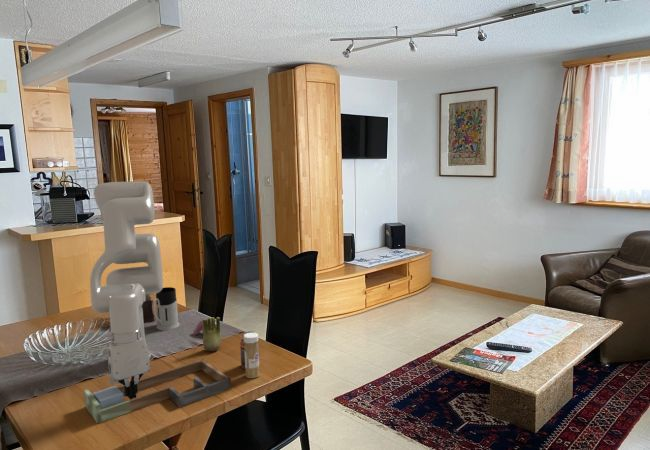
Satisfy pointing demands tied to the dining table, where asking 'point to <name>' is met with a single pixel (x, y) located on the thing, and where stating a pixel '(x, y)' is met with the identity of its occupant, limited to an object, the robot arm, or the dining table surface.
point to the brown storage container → (148, 309)
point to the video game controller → (201, 327)
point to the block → (109, 397)
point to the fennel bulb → (212, 334)
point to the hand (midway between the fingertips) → (131, 396)
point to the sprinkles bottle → (251, 355)
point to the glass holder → (166, 309)
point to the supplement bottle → (244, 349)
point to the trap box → (163, 391)
